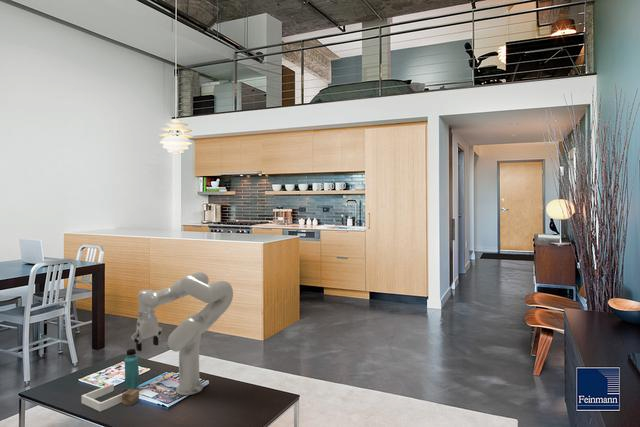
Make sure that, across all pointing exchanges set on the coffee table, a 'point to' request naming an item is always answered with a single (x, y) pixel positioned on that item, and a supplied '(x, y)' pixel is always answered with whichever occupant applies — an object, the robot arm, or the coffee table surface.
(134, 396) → the walnut block
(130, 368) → the beverage bottle
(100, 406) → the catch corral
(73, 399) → the coffee table surface
